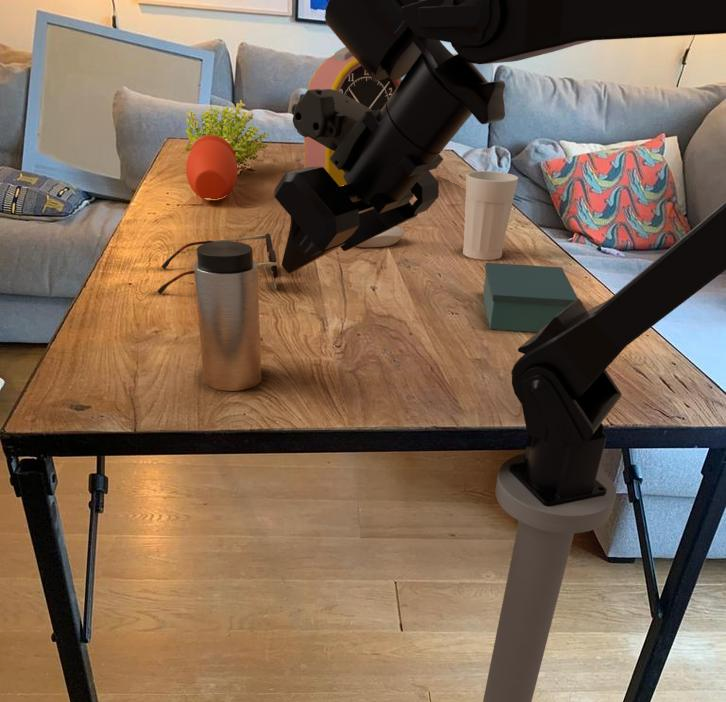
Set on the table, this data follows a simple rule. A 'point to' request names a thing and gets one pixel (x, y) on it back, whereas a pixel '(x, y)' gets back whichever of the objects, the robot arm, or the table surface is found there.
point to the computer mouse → (384, 238)
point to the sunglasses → (268, 240)
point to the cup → (487, 213)
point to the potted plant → (219, 151)
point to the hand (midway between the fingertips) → (315, 257)
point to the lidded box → (525, 296)
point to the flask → (228, 315)
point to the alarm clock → (352, 82)
